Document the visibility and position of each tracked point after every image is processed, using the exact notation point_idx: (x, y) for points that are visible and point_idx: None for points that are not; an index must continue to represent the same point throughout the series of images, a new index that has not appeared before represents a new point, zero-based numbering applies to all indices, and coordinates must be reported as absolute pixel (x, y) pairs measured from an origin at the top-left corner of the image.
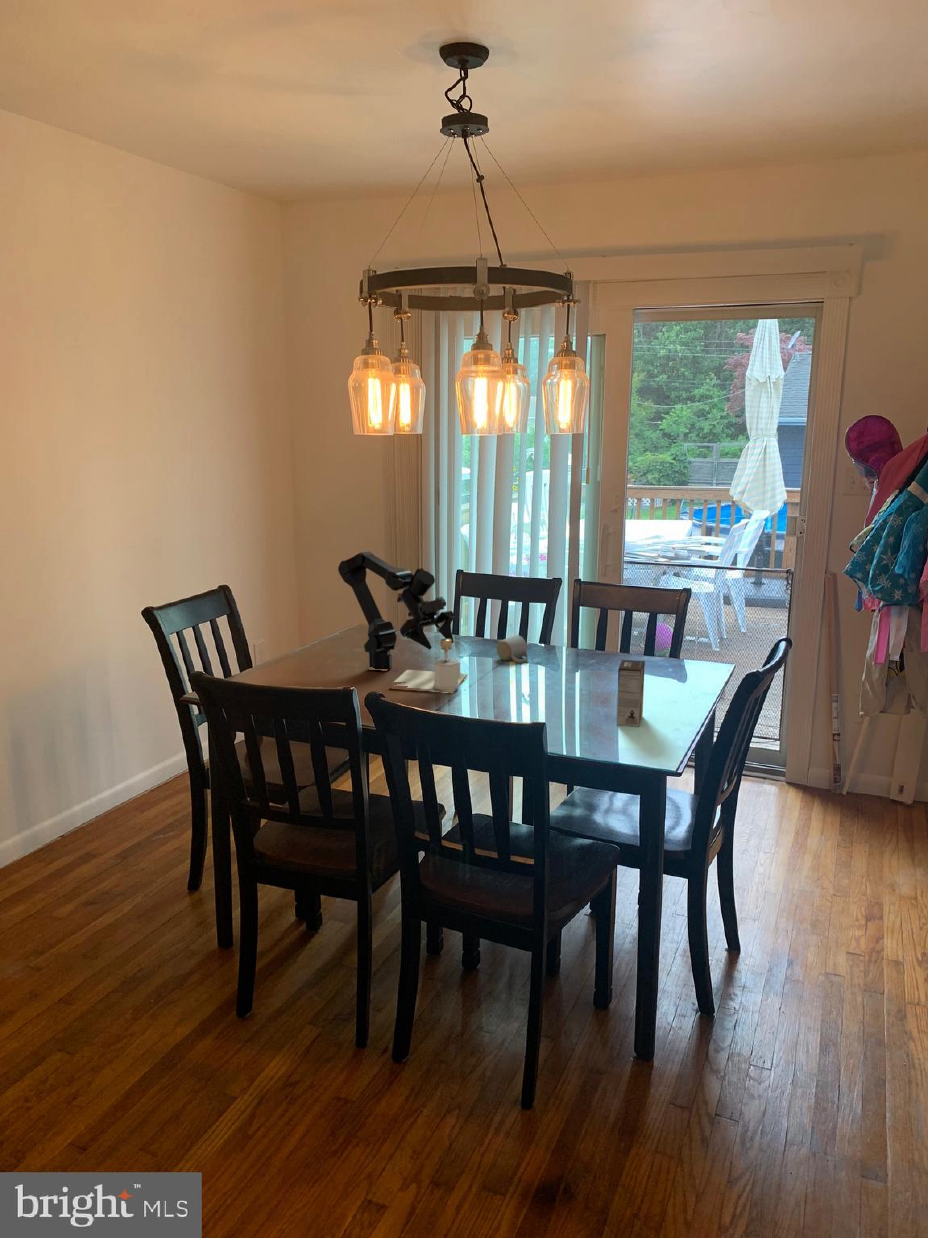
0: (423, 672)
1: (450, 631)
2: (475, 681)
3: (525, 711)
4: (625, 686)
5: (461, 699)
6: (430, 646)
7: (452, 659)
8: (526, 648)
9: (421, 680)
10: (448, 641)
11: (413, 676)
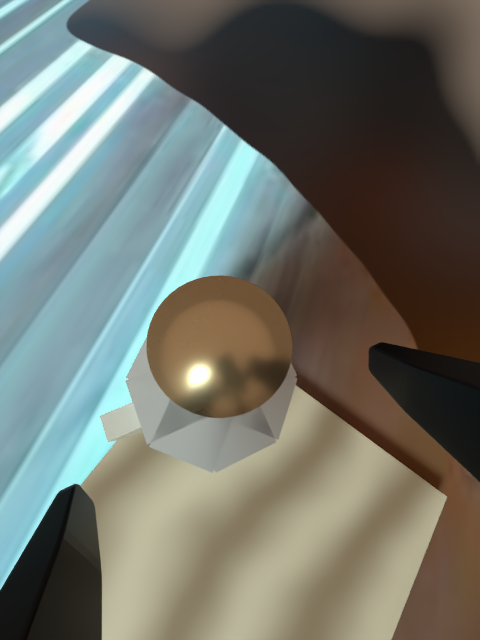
0: None
1: None
2: (33, 460)
3: (79, 103)
4: None
5: (205, 263)
6: (388, 346)
7: (153, 408)
8: None
9: (289, 531)
10: (215, 276)
11: (310, 633)
